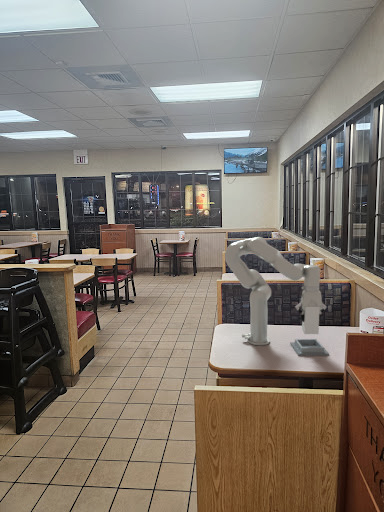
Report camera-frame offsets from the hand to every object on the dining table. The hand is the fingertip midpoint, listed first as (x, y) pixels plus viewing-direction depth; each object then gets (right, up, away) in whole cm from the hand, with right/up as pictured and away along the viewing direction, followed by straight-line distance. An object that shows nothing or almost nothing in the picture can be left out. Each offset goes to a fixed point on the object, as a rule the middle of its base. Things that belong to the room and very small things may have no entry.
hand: (310, 320), depth 190 cm
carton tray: (0, -16, +3) cm, 16 cm away
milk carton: (0, -6, +1) cm, 7 cm away
